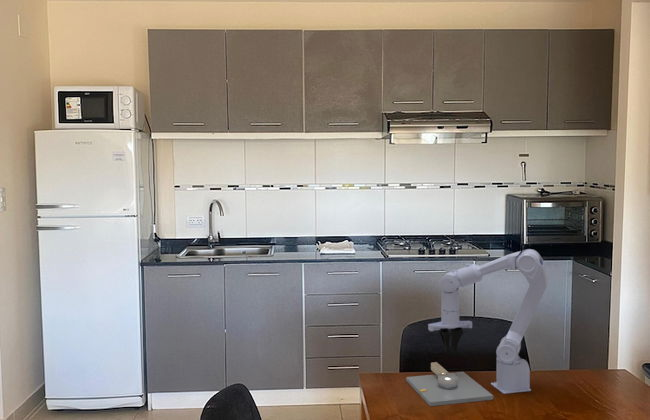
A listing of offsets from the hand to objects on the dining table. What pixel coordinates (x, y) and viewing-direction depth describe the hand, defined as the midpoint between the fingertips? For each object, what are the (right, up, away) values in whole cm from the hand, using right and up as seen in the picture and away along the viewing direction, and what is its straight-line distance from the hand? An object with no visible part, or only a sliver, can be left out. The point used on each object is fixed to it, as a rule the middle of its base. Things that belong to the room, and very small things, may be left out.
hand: (450, 350), depth 178 cm
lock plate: (-3, -10, -8) cm, 13 cm away
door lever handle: (-3, -8, -4) cm, 10 cm away
